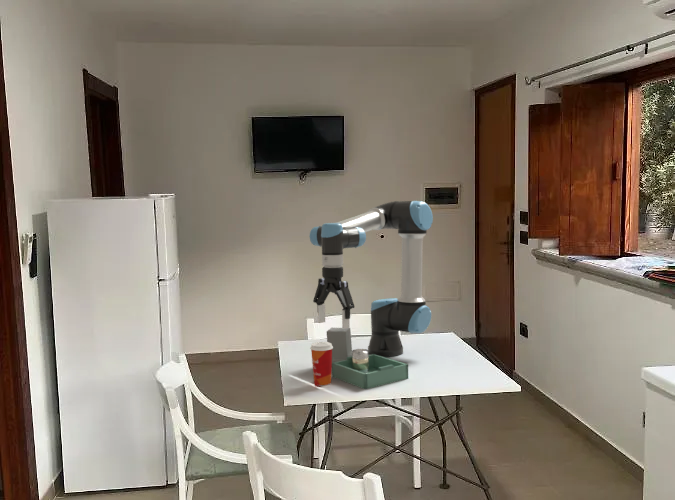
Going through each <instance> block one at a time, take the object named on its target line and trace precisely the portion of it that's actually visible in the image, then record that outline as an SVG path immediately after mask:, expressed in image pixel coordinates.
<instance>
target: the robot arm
mask: <svg viewBox="0 0 675 500" xmlns="http://www.w3.org/2000/svg"><path fill="white" fill-rule="evenodd" d="M433 220H434V217H433V212H432V209H431V207H430V206H429V205H428V203H426V202H424V201H421V200H404V201H402V200H400V201H397V200H395V201H389V202H386V203H385V202H384V203H383V204H379V205H377V206H374V207H371V208H369V209H368V210H367V211H366V212H363V213H361V214H358V215H355V216H352V217H349V218H346V219H343V220H340V221H337V222H324V223H323V224H322V225H319V226H314V227H312V228H311V230H309V241H310V243H311V245H314V247H315V246H316V247H321V265H322V266H323V267H322V268H321V276H322V277H321V278H320V277H319V278H318V279H317V281H318V283H317V287H316V289H315V293H314V298H313V300H312V301H313V303H315V304H316V307H317V314H318V317H317V319H318V320H317V321H318V322H317V323H318V324H322V323H326V304H325V301H326V300H327V298H328V296H329V295H330V293H332V294H334V295H336V297H337V299H338V300H339V302H340V305H341V307H342V310H341V317H342V318H341V320H342V321H341V322H342V324H341V326H342V327H341V328H351V327H350V319H351V310H353V309H355V304H354V301H353V297H352V294H351V292H350V287H349V281H347V280H345V281H344V280H343V281H342V277H344V267H343V265H344V249H351V248H352V249H354V248H355V249H357V248H359V247H363V245H364V244H365V243H366V240H367V235H366V233H368V232H371V231H374V230H375V231H381V230H385V229H387V230H389V229H392V230H397V235H398V236H399V237H401V262H400V263H401V267H400V268H401V269H400V270H401V271H400V272H401V276H400V277H401V278H400V279H401V280H400V281H401V283H400V287H401V288H400V296H399V297H398V298H397V297H395V298H394V297H393V298H392V297H389V298H381V299H377V300H373V301H372V302H371V305H370V325H371V326H370V328H371V336H370V339H369V344H368V346H367V350H368V355H372V354H375V355H379V356H382V357H385V358H389V357H394V356H400V355H402V354H404V346H403V344H402V340H401V338H400V333H399V332H406V333H409V334H423V333H424V332H426V330H427V329H428V327H429V326H430V324H431V321H432V311H431V308H430V307H429V306H427V304H426V303H427V301H426V299H425V298H424V297H423V251H424V249H423V246H424V245H423V243H424V242H423V241H424V237H425V236H426V235H427V233H428V231H427V230H429V229H430V228H431V227H432V225H433V223H434V221H433Z"/></svg>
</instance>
